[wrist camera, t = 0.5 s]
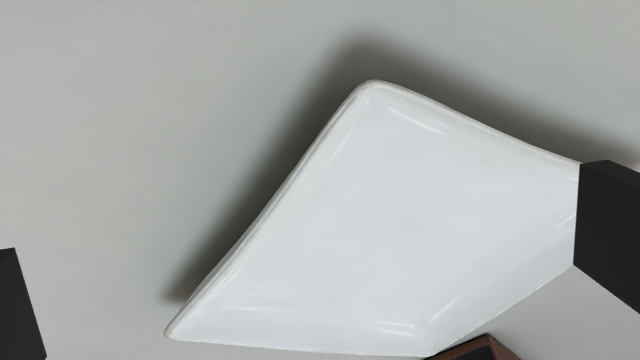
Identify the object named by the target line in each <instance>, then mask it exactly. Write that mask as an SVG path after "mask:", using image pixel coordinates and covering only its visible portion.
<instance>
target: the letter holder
mask: <svg viewBox="0 0 640 360" xmlns="http://www.w3.org/2000/svg"><path fill="white" fill-rule="evenodd" d="M426 360H520V359H518V358H517V357H516V356H515V355H514V354H512V353H511V352H510V351H509V350H507V349H506V348H505V347H503V346H502V345H501V344H500V343H498V342H497V341H496V340H494V339H493V338H492V337H491V336H489V335H487V334H486V335H484V336H481V337H479V338H477V339H475V340H472V341H470V342H467V343H465V344H462V345H460V346H457V347H455V348H453V349H451V350H448V351H446V352H443V353H441V354H438V355H436V356H434V357H431V358H429V359H426Z"/></svg>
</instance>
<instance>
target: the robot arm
mask: <svg viewBox="0 0 640 360" xmlns="http://www.w3.org/2000/svg"><path fill="white" fill-rule="evenodd" d="M573 265H575V266H576V267H577V268H579V269H580V270H581V271H583V272H584V273H585V274H587V275H588V276H589V277H591V278H592V279H593V280H595V281H596V282H597V283H599V284H600V285H601V286H603V287H604V288H606V289H607V290H608V291H610V292H611V293H612V294H614V295H615V296H616V297H618V298H619V299H620V300H622V301H623V302H624V303H626V304H627V305H628V306H630V307H631V308H632V309H634V310H635V311H636V312H638V313H639V314H640V173H639V172H637V171H634V170H632V169H629V168H627V167H625V166H622V165H620V164H617V163H615V162H612V161H610V160H603V161H596V162H589V163H582V164H580V166H579V181H578V195H577V210H576V225H575V239H574V254H573ZM46 357H47V355H46V351H45V348H44V345H43V341H42V338H41V335H40V331H39V328H38V325H37V321H36V318H35V314H34V311H33V308H32V304H31V301H30V298H29V294H28V291H27V288H26V284H25V281H24V278H23V274H22V271H21V267H20V264H19V261H18V257H17V254H16V251H15V247H14V248H7V249H1V250H0V360H45V359H46Z"/></svg>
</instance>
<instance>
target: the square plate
mask: <svg viewBox="0 0 640 360" xmlns="http://www.w3.org/2000/svg"><path fill="white" fill-rule="evenodd" d="M580 164H582V162H578V161H575V160H572V159H569V158H566V157H564V156H561V155H558V154H555V153H552V152H550V151H547V150H544V149H541V148H538V147H535V146H533V145H530V144H528V143H526V142H523V141H521V140H519V139H517V138H514V137H512V136H510V135H507V134H505V133H503V132H500V131H498V130H496V129H494V128H491V127H489V126H487V125H485V124H483V123H481V122H479V121H476V120H474V119H472V118H470V117H468V116H466V115H464V114H462V113H460V112H458V111H456V110H453V109H451V108H449V107H447V106H445V105H443V104H441V103H439V102H437V101H435V100H432V99H430V98H428V97H426V96H424V95H422V94H419V93H417V92H414V91H412V90H410V89H407V88H405V87H402V86H400V85H397V84H393V83H390V82H386V81H383V80H375V79H374V80H367V81H365V82H363V83H361V84H359V85H358V86H357V87H356V88H355V89H354V90H353V91H352V92H351V94H350V95H349V96H348V97H347V98H346V99H345V101H344V102H343V103H342V104H341V105H340V106H339V108H338V109H337V110H336V112H335V113H334V114H333V116H332V117H331V118H330V120H329V121H328V122H327V124H326V125H325V126H324V128H323V129H322V130H321V132H320V133H319V134H318V136H317V137H316V138H315V140H314V141H313V143H312V144H311V145H310V147H309V148H308V150H307V151H306V152H305V154H304V155H303V157H302V158H301V159H300V161H299V162H298V164H297V165H296V166H295V168H294V169H293V170H292V172H291V173H290V174H289V176H288V177H287V178H286V180H285V181H284V182H283V184H282V185H281V186H280V187H279V189H278V190H277V191H276V193H275V194H274V195H273V197H272V198H271V199H270V201H269V202H268V203H267V205H266V206H265V207H264V209H263V210H262V211H261V212H260V214H259V215H258V216H257V218H256V219H255V220H254V221H253V223H252V224H251V225H250V226H249V228H248V229H247V230H246V231H245V232H244V234H243V235H242V236H241V237H240V239H239V240H238V241H237V242H236V243H235V244H234V246H233V247H232V248H231V249H230V250H229V251H228V253H227V254H226V255H225V256H224V257H223V258H222V259H221V261H220V262H219V263H218V264H217V265H216V266H215V267H214V269H213V270H212V271H211V272H210V273H209V274H208V275H207V276H206V278H205V279H204V280H203V281H202V282H201V284H200V285H199V286H198V287H197V288H196V290H195V291H194V292H193V294H192V295H191V296H190V298H189V299H188V300H187V301H186V303H185V304H184V305H183V307H182V308H181V310H180V311H179V312H178V314H177V315H176V316H175V317H174V318H173V320H172V321H171V322H170V323H169V324H168V326H167V327H166V329H165V331H164V336H165V337H166V338H170V339H173V340H181V341H193V342H205V343H216V344H228V345H238V346H249V347H260V348H271V349H282V350H293V351H306V352H321V353H334V354H351V355H378V356H411V357H429V356H432V355H435V354H436V353H438V352H440V351H441V350H443V349H444V348H446V347H447V346H449V345H451V344H452V343H454V342H455V341H457V340H459V339H460V338H462V337H463V336H465V335H467V334H468V333H470V332H472V331H473V330H475V329H476V328H478V327H480V326H481V325H483V324H485V323H486V322H488V321H489V320H491V319H493V318H494V317H496V316H497V315H499V314H500V313H502V312H504V311H505V310H507V309H508V308H510V307H511V306H513V305H514V304H516V303H517V302H519V301H520V300H522V299H523V298H525V297H527V296H528V295H530V294H531V293H533V292H534V291H536V290H537V289H539V288H540V287H542V286H543V285H545V284H546V283H548V282H549V281H551V280H552V279H553V278H555V277H556V276H558V275H559V274H561V273H562V272H564V271H565V270H567V269H568V268H570V267H571V266H572V265H573V254H574V239H575V225H576V210H577V195H578V181H579V166H580Z"/></svg>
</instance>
